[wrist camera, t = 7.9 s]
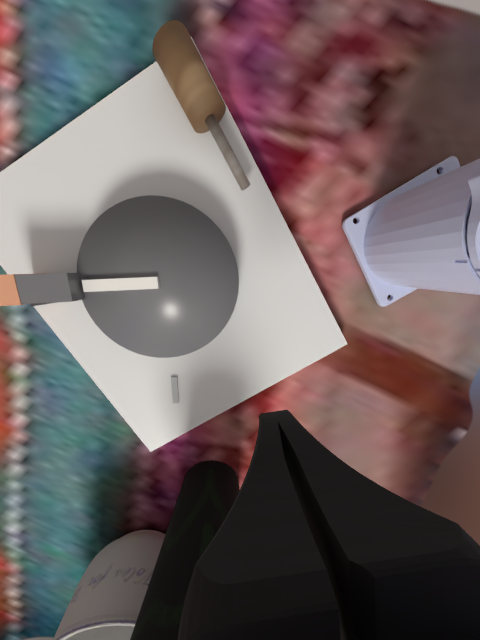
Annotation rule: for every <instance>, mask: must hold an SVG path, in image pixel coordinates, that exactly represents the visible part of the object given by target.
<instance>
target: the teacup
mask: <svg viewBox="0 0 480 640" xmlns="http://www.w3.org/2000/svg"><path fill="white" fill-rule="evenodd" d="M165 535H166V534H164V533H162V532H159V531H155V530H139V531H134V532H131V533H129V534H126V535H124V536H123V537H121V538H119V539H117V540H115V541H113V542H111V543H110V544H108V545H107V546H106V547H104V548H103V549H102V550H101V551H100V552H99V553H98V554H97V555H96V556H95V557H94V559H93V560H92V561H91V563H90V564H89V566H88V567H87V569H86V571H85V573H84V574H83V576H82V578H81V580H80V582H79V584H78V586H77V588H76V590H75V593H74V595H73V597H72V599H71V601H70V603H69V605H68V608H67V610H66V612H65V614H64V616H63V619H62V621H61V623H60V626H59V628H58V630H57V632H56V635H55V637H54V639H53V640H130V639H131V636H132V633H133V630H134V627H135V624H136V621H137V618H138V615H139V612H140V609H141V606H142V603H143V600H144V597H145V594H146V591H147V588H148V585H149V582H150V579H151V576H152V573H153V570H154V567H155V564H156V561H157V558H158V555H159V552H160V549H161V547H162V544H163V541H164V538H165Z"/></svg>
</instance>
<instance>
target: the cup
mask: <svg viewBox="0 0 480 640" xmlns="http://www.w3.org/2000/svg"><path fill="white" fill-rule="evenodd" d="M239 491H240V490H239V482H238V477H237V475H236V473H235V471H234V470H233V469H232V468H231V467H230V466H228V465H226V464H225V463H222V462H219V461H204V462H201V463H198V464H196V465H194V466H193V467H192V468H191V469H189V471H188V472H187V474H186V475H185V478H184V481H183V484H182V487H181V490H180V493H179V496H178V499H177V502H176V505H175V508H174V511H173V514H172V517H171V520H170V523H169V526H168V529H167V532H166V535H165V538H164V541H163V544H162V547H161V549H160V552H159V555H158V558H157V561H156V564H155V567H154V570H153V573H152V576H151V579H150V582H149V585H148V588H147V591H146V594H145V597H144V600H143V603H142V606H141V609H140V612H139V615H138V618H137V621H136V624H135V627H134V630H133V633H132V636H131V639H130V640H178V634H179V627H180V621H181V616H182V611H183V607H184V602H185V598H186V595H187V591H188V587H189V584H190V580H191V577H192V574H193V571H194V568H195V565H196V563H197V562H198V560H199V559H200V557H201V556H202V554H203V553H204V551H205V550H206V548H207V547H208V545H209V544H210V543H211V541H212V540H213V538H214V537H215V535H216V533H217V532H218V530H219V528H220V527H221V525H222V523H223V521H224V520H225V518H226V516H227V514H228V513H229V511H230V509H231V507H232V505H233V503H234V501H235V499H236V497H237V495H238V493H239Z"/></svg>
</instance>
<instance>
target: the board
mask: <svg viewBox="0 0 480 640" xmlns="http://www.w3.org/2000/svg"><path fill="white" fill-rule="evenodd" d="M191 39H192V37H191ZM192 40H193V39H192ZM193 42H194V41H193ZM194 44H195V43H194ZM195 46H196V45H195ZM196 48H197V46H196ZM197 50H198V48H197ZM198 52H199V50H198ZM199 54H200V52H199ZM200 56H201V54H200ZM201 58H202V56H201ZM202 60H203V58H202ZM203 62H204V60H203ZM204 64H205V62H204ZM205 66H206V64H205ZM206 68H207V66H206ZM207 70H208V68H207ZM208 72H209V70H208ZM209 74H210V72H209ZM210 76H211V74H210ZM211 78H212V76H211ZM212 80H213V78H212ZM213 82H214V80H213ZM214 84H215V82H214ZM215 86H216V84H215ZM216 88H217V86H216ZM217 90H218V88H217ZM218 92H219V90H218ZM219 94H220V92H219ZM220 96H221V94H220ZM221 98H222V96H221ZM222 100H223V98H222ZM223 101H224V100H223ZM224 103H225V102H224ZM225 106H226V104H225ZM219 125H220V127H221V129H222V131H223V132H224V134H225V136H226V138H227V140H228V142H229V144H230V146H231V148H232V150H233V152H234V154H235V155H236V157H237V159H238V161H239V163H240V165H241V167H242V169H243V171H244V173H245V175H246V177H247V178H248V180H249V182H250V186H249V187H248V188H246V189H245V190H241V188H240V186H239V185H238V183H237V181H236V179H235V177H234V175H233V173H232V171H231V170H230V168H229V166H228V164H227V162H226V160H225V158H224V156H223V155H222V153H221V151H220V149H219V147H218V145H217V143H216V141H215V140H214V138H213V136H212V134H211V132H210V130H209V131H207V132H205V133H196V132H195V131H194V129H193V127H192V125H191V123H190V122H189V120H188V118H187V116H186V114H185V112H184V111H183V109H182V107H181V105H180V103H179V101H178V100H177V98H176V96H175V94H174V92H173V90H172V89H171V87H170V85H169V83H168V81H167V79H166V78H165V76H164V74H163V72H162V70H161V68H160V67H159V65H158V63H157V61H156V62H154V63H153V64H152V65H150V66H149V67H147V68H146V69H145V70H143V71H142V72H140V73H139V74H138V75H136V76H135V77H133V78H132V79H131V80H129V81H128V82H126V83H125V84H124V85H122V86H121V87H119V88H118V89H117V90H115V91H114V92H112V93H111V94H109V95H108V96H107V97H105V98H104V99H102V100H101V101H100V102H98V103H97V104H95V105H94V106H93V107H91V108H90V109H88V110H87V111H86V112H84V113H83V114H81V115H80V116H79V117H77V118H76V119H74V120H73V121H72V122H70V123H69V124H67V125H66V126H65V127H63V128H62V129H60V130H59V131H58V132H56V133H55V134H53V135H52V136H50V137H49V138H48V139H46V140H45V141H43V142H42V143H41V144H39V145H38V146H36V147H35V148H34V149H32V150H31V151H29V152H28V153H27V154H25V155H24V156H22V157H21V158H20V159H18V160H17V161H15V162H14V163H13V164H11V165H10V166H8V167H7V168H6V169H4V170H3V171H1V172H0V265H1V266H2V268H3V269H4V270H5V271H6V273H7V274H8V275H9V274H46V273H51V274H52V273H77V260H78V253H79V250H80V247H81V243H82V241H83V239H84V237H85V234H86V233H87V231H88V230H89V228H90V227H91V225H92V224H93V223H94V221H95V220H96V219H97V218H98V217H99V216H100V215H101V214H102V213H104V212H105V211H106V210H107V209H109V208H110V207H112V206H114V205H115V204H117V203H119V202H122V201H124V200H127V199H130V198H134V197H138V196H147V195H154V196H165V197H170V198H174V199H177V200H180V201H183V202H185V203H188V204H190V205H192V206H194V207H195V208H197V209H198V210H200V211H201V212H203V213H204V214H205V215H207V216H208V217H209V218H210V219H211V220H212V221H213V222H214V223H215V224H216V225H217V226H218V227H219V228H220V230H221V231H222V233H223V234H224V235H225V237H226V239H227V240H228V242H229V244H230V246H231V248H232V251H233V253H234V256H235V259H236V263H237V267H238V275H239V290H238V297H237V302H236V305H235V308H234V311H233V313H232V315H231V318H230V320H229V321H228V323H227V324H226V326H225V327H224V329H223V330H222V331H221V332H220V334H219V335H218V336H217V337H216V338H214V339H213V340H212V341H211V342H210V343H208V344H207V345H205V346H204V347H202V348H200V349H198V350H197V351H194V352H192V353H189V354H186V355H182V356H178V357H170V358H157V357H149V356H145V355H141V354H137V353H135V352H132V351H130V350H127V349H126V348H124V347H122V346H120V345H118V344H117V343H115V342H114V341H113V340H111V339H110V338H109V337H108V336H106V335H105V334H104V333H103V332H102V331H101V330H100V329H99V327H98V326H97V325H96V324H95V323H94V321H93V320H92V318H91V317H90V315H89V314H88V312H87V310H86V308H85V306H84V304H83V301H82V300H78V301H73V302H53V303H32V304H31V306H34V307H35V309H36V310H37V311H38V312H39V314H40V315H41V316H42V317H43V319H44V320H45V321H46V322H47V324H48V325H49V326H50V327H51V329H52V330H53V331H54V332H55V334H56V335H57V336H58V337H59V339H60V340H61V341H62V342H63V344H64V345H65V346H66V347H67V349H68V350H69V351H70V352H71V354H72V355H73V356H74V357H75V358H76V360H77V361H78V362H79V363H80V365H81V366H82V367H83V368H84V370H85V371H86V372H87V373H88V375H89V376H90V377H91V378H92V380H93V381H94V382H95V383H96V385H97V386H98V387H99V388H100V390H101V391H102V392H103V393H104V395H105V396H106V397H107V398H108V400H109V401H110V402H111V403H112V405H113V406H114V407H115V408H116V410H117V411H118V412H119V413H120V414H121V416H122V417H123V418H124V419H125V421H126V422H127V423H128V424H129V426H130V427H131V428H132V429H133V431H134V432H135V433H136V434H137V436H138V437H139V438H140V439H141V441H142V442H143V443H144V444H145V446H146V447H147V448H148V449H149V451H150V452H151V451H153V450H155V449H157V448H159V447H160V446H162V445H164V444H166V443H168V442H170V441H171V440H173V439H175V438H177V437H179V436H181V435H182V434H184V433H186V432H188V431H190V430H191V429H193V428H195V427H197V426H199V425H201V424H202V423H204V422H206V421H208V420H210V419H212V418H213V417H215V416H217V415H219V414H221V413H222V412H224V411H226V410H228V409H230V408H232V407H233V406H235V405H237V404H239V403H241V402H243V401H244V400H246V399H248V398H250V397H252V396H253V395H255V394H257V393H259V392H261V391H263V390H264V389H266V388H268V387H270V386H272V385H274V384H275V383H277V382H279V381H281V380H283V379H285V378H286V377H288V376H290V375H292V374H294V373H295V372H297V371H299V370H301V369H303V368H305V367H306V366H308V365H310V364H312V363H314V362H316V361H317V360H319V359H321V358H323V357H325V356H326V355H328V354H330V353H332V352H334V351H336V350H337V349H339V348H341V347H343V346H345V345H347V342H346V340H345V338H344V336H343V334H342V332H341V330H340V328H339V326H338V324H337V322H336V320H335V318H334V316H333V314H332V312H331V310H330V308H329V306H328V305H327V303H326V301H325V299H324V297H323V295H322V293H321V291H320V289H319V287H318V285H317V283H316V281H315V279H314V277H313V275H312V273H311V271H310V269H309V267H308V265H307V263H306V261H305V259H304V257H303V255H302V253H301V251H300V249H299V247H298V245H297V243H296V241H295V240H294V238H293V236H292V234H291V232H290V230H289V228H288V226H287V224H286V222H285V220H284V218H283V216H282V214H281V212H280V210H279V208H278V206H277V204H276V202H275V200H274V198H273V196H272V194H271V192H270V190H269V188H268V186H267V184H266V182H265V180H264V178H263V176H262V175H261V173H260V171H259V169H258V167H257V165H256V163H255V161H254V159H253V157H252V155H251V153H250V151H249V149H248V147H247V145H246V143H245V141H244V139H243V137H242V135H241V133H240V131H239V129H238V127H237V125H236V123H235V121H234V119H233V117H232V115H231V113H230V111H229V110H228V108H227V106H226V111H225V114H224V116H223V118H222V119H221V121H220V122H219Z"/></svg>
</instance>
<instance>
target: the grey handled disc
mask: <svg viewBox="0 0 480 640" xmlns="http://www.w3.org/2000/svg"><path fill="white" fill-rule="evenodd" d="M238 290H239V275H238V267H237V263H236V259H235V256H234V253H233V251H232V248H231V246H230V244H229V242H228V240H227V239H226V237H225V235H224V234H223V233H222V231H221V230H220V228H219V227H218V226H217V225H216V224H215V223H214V222H213V221H212V220H211V219H210V218H209V217H208V216H207V215H205V214H204V213H203V212H201V211H200V210H198V209H197V208H195V207H194V206H192V205H190V204H188V203H185V202H183V201H180V200H177V199H174V198H170V197H165V196H154V195H147V196H138V197H134V198H130V199H127V200H124V201H122V202H119V203H117V204H115V205H114V206H112V207H110V208H109V209H107V210H106V211H105V212H104V213H102V214H101V215H100V216H99V217H98V218H97V219H96V220H95V221H94V223H93V224H92V225H91V227H90V228H89V230H88V231H87V233H86V234H85V237H84V239H83V241H82V243H81V247H80V250H79V253H78V260H77V273H52V274H51V273H46V274H9V275H0V306H8V305H23V304H32V303H53V302H73V301H78V300H82V301H83V304H84V306H85V308H86V310H87V312H88V314H89V315H90V317H91V318H92V320H93V321H94V323H95V324H96V325H97V326H98V327H99V329H100V330H101V331H102V332H103V333H104V334H105V335H106V336H108V337H109V338H110V339H111V340H113V341H114V342H115V343H117V344H118V345H120V346H122V347H124V348H126V349H127V350H130V351H132V352H135V353H137V354H141V355H145V356H149V357H157V358H170V357H178V356H182V355H186V354H189V353H192V352H194V351H197V350H198V349H200V348H202V347H204V346H205V345H207V344H208V343H210V342H211V341H212V340H213V339H214V338H216V337H217V336H218V335H219V334H220V332H221V331H222V330H223V329H224V327H225V326H226V324H227V323H228V321H229V320H230V318H231V315H232V313H233V311H234V308H235V305H236V302H237V297H238Z"/></svg>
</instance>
